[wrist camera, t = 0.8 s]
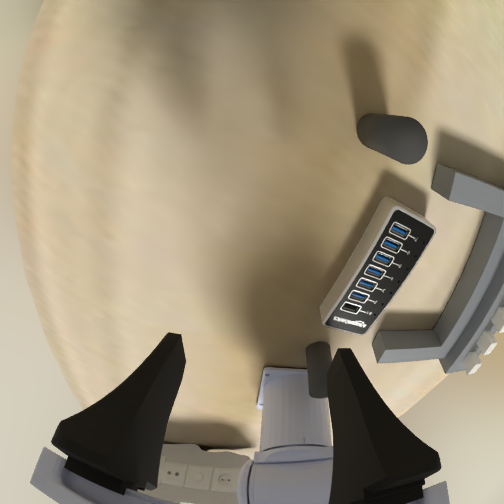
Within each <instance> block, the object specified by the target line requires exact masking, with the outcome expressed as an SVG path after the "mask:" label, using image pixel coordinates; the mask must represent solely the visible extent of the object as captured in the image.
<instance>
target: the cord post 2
mask: <svg viewBox="0 0 504 504" xmlns="http://www.w3.org/2000/svg"><path fill="white" fill-rule="evenodd" d="M357 135H358V138H359V140H360V141H361V142H362V144H363V145H365V146H366V147H368V148H370V149H373V150H375V151H377V152H379V153H381V154H384V155H386V156H388V157H390V158H392V159H394V160H396V161H398V162H400V163H403V164H414V163H417V162H418V161H420V160H421V159H422V158H423V156H424V155H425V153H426V150H427V145H428V140H427V134H426V132H425V129H424V128H423V126H422V125H421V124H420V123H419V122H418V121H417V120H415V119H413V118H411V117H404V116H395V115H385V114H367V115H365V116H363V117H362V118H361V119H360V121H359V122H358V125H357Z"/></svg>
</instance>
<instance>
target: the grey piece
mask: <svg viewBox="0 0 504 504" xmlns="http://www.w3.org/2000/svg"><path fill="white" fill-rule="evenodd" d="M431 189H432V190H434V191H435V192H437V193H438V194H440V195H441V196H443V197H444V198H446V199H447V200H449V201H452V202H456V203H459V204H463V205H466V206H470V207H473V208H476V209H479V210H483V211H486V212H485V216H484V219H483V222H482V225H481V228H480V231H479V234H478V236H477V239H476V242H475V244H474V247H473V250H472V252H471V255H470V257H469V260H468V262H467V264H466V267H465V269H464V271H463V273H462V276H461V278H460V280H459V282H458V284H457V286H456V288H455V290H454V292H453V294H452V296H451V298H450V300H449V302H448V304H447V306H446V308H445V310H444V311H443V313H442V315H441V317H440V319H439V320H438V322H437V324H436V325H435V327H434V329H433V330H409V331H378V333H377V335H376V337H375V339H374V341H373V343H372V347H373V350H374V353H375V357H376V360H377V363H396V362H410V361H421V360H431V359H439V361H440V363H441V365H442V367H443V370H444V372H445V374H447V373H453V372H458V371H463V370H465V371H466V373H467V374H473V373H475V372H476V370H477V369H478V368H479V367H480V365H481V364H482V362H481V360H480V358H479V355H480V353H482V355H487V354H490V352H491V351H492V350H493V348H494V347H495V346H496V344H497V343H498V342H497V341H496V339H495V337H494V336H493V335H494V333H495V332H496V331H498V332H499V333H501V332H504V189H502V188H500V187H498V186H495V185H493V184H491V183H488V182H486V181H484V180H481V179H479V178H476V177H474V176H471V175H469V174H466V173H463V172H461V171H458V170H455V169H452V168H449V167H446V166H443V165H440V164H437V166H436V170H435V175H434V180H433V184H432V188H431Z"/></svg>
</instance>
